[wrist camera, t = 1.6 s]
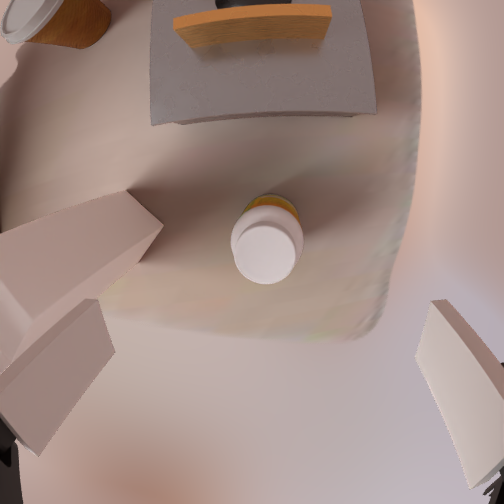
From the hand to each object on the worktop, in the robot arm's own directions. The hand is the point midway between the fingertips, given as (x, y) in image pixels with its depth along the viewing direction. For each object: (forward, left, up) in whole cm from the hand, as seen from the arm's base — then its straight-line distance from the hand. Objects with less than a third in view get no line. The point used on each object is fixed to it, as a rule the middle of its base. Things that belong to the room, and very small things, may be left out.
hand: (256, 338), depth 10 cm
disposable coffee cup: (-20, +26, -18) cm, 38 cm away
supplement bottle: (0, 0, -18) cm, 18 cm away
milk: (-15, 0, -18) cm, 24 cm away
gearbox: (0, +20, -18) cm, 27 cm away
